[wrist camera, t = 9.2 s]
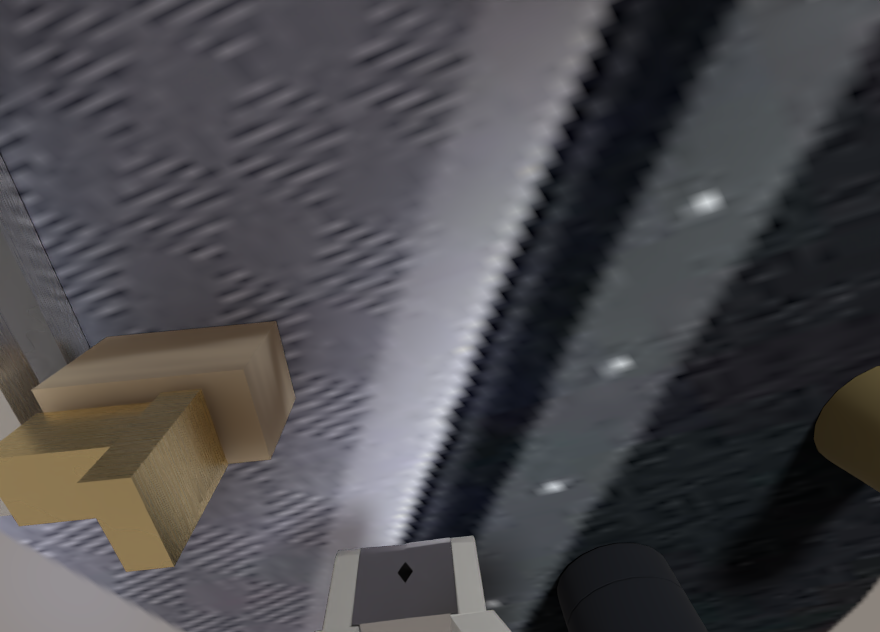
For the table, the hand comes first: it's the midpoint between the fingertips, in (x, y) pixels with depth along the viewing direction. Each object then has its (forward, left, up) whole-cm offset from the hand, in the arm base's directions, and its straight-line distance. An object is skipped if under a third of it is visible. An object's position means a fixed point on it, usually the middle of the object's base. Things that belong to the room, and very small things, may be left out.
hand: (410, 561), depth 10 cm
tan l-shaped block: (-1, -9, -5) cm, 10 cm away
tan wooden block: (-1, -8, -9) cm, 12 cm away
